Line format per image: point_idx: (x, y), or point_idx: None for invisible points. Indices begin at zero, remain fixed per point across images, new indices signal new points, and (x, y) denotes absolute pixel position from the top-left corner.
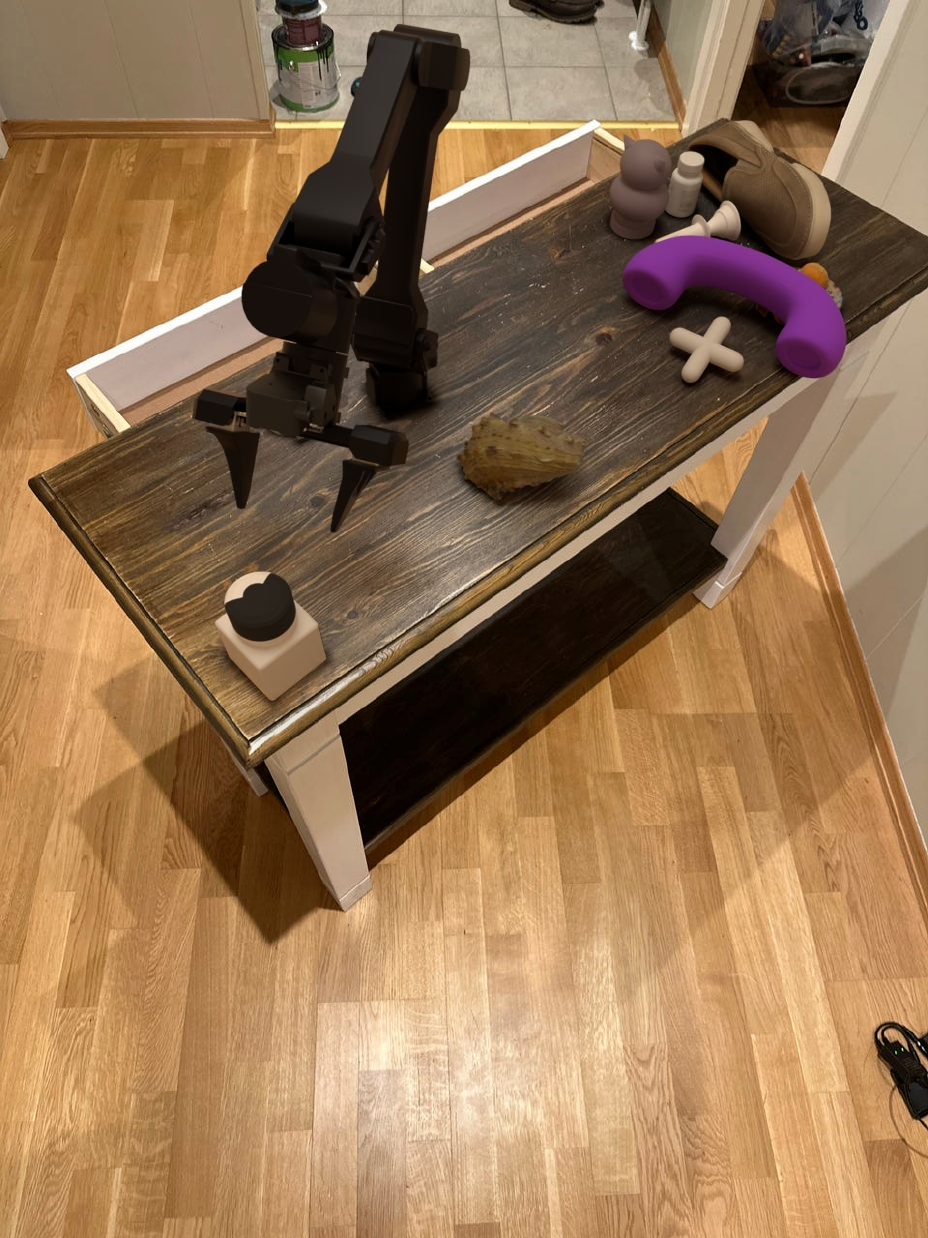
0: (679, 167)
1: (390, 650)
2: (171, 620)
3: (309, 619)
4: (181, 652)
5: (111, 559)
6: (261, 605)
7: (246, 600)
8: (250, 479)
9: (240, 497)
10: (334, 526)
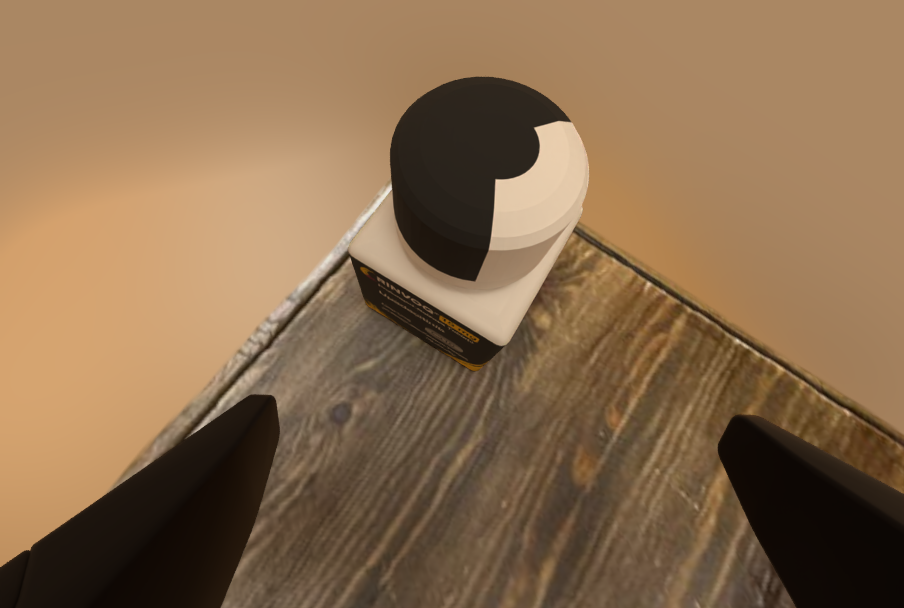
0: None
1: (243, 351)
2: (664, 315)
3: (371, 252)
4: (615, 262)
5: (839, 412)
6: (467, 111)
7: (517, 118)
8: (815, 603)
9: (787, 445)
10: (237, 408)
